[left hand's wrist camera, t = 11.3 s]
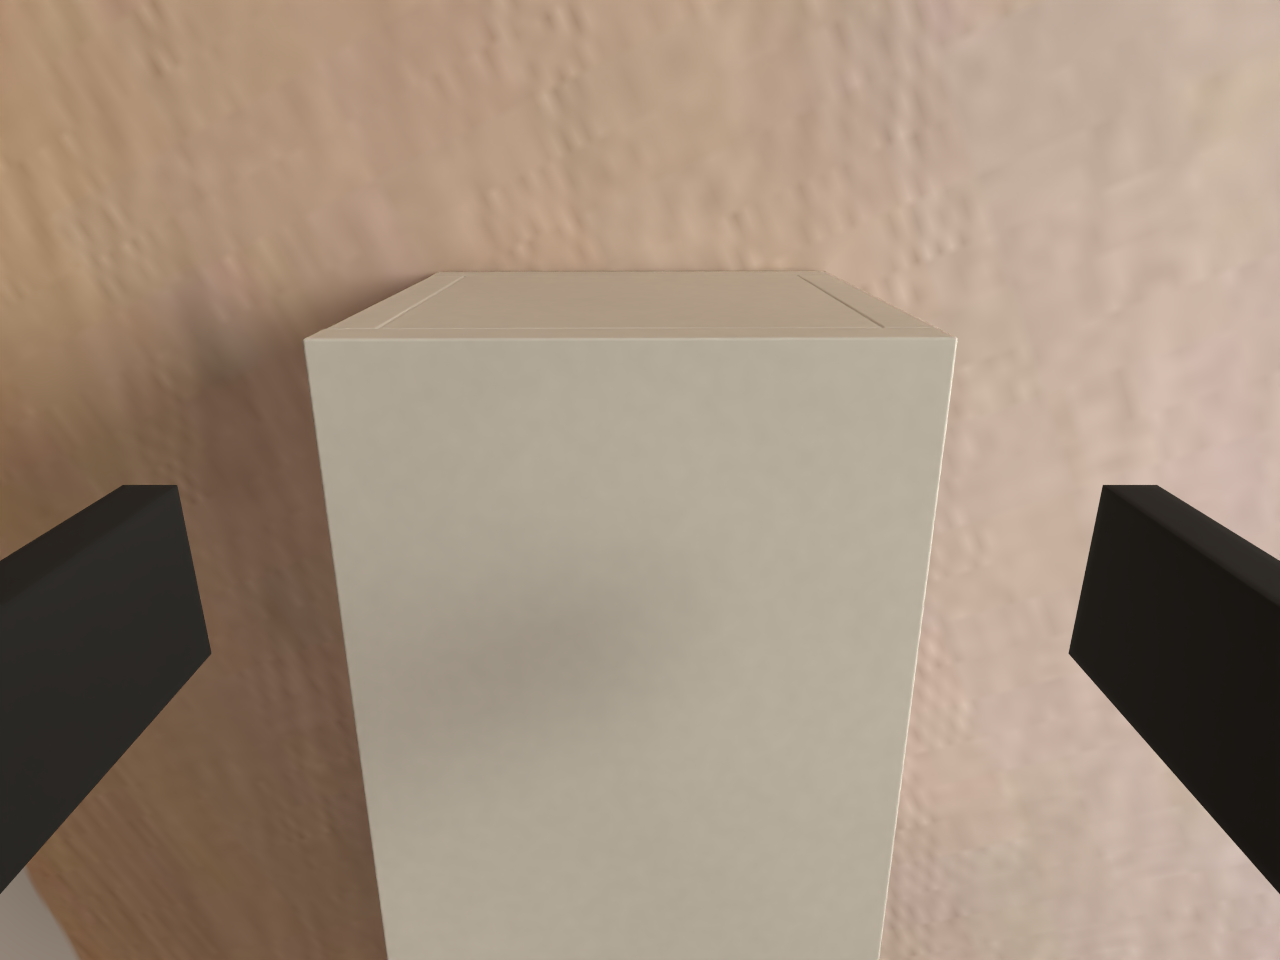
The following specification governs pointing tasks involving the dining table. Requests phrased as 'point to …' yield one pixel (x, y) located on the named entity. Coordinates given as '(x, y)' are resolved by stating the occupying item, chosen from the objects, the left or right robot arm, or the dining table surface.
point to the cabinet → (631, 605)
